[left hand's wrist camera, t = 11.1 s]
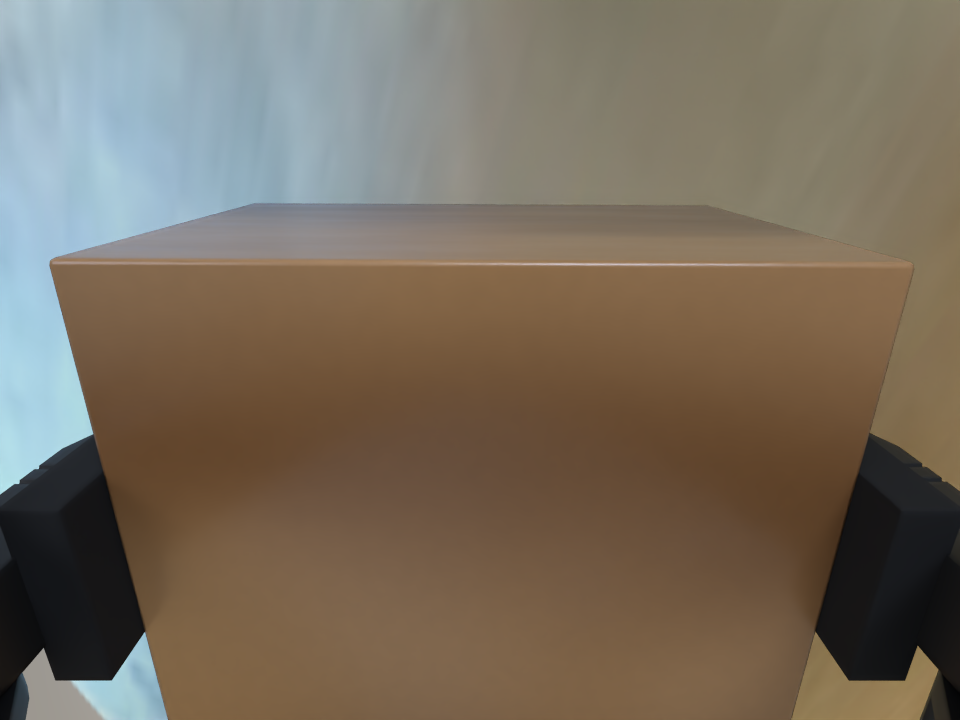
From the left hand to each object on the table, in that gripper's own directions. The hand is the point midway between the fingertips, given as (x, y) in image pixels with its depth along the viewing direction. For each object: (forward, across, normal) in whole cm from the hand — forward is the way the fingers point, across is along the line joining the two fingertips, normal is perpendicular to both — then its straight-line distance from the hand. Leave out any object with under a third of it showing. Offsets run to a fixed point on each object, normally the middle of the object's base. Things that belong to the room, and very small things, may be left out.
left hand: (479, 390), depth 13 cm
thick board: (+1, 0, -21) cm, 21 cm away
